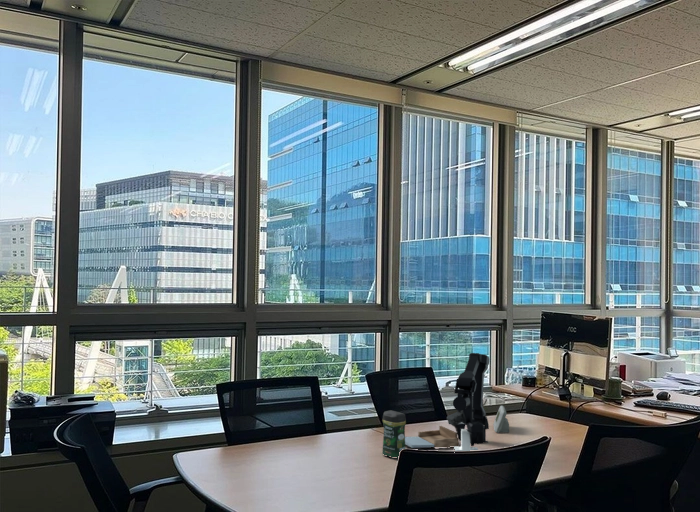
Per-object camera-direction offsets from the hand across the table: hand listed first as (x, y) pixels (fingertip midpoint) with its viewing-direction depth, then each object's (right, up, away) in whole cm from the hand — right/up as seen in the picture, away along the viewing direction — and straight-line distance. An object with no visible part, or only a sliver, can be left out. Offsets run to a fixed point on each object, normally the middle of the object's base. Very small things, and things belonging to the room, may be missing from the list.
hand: (466, 443), depth 261 cm
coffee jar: (-31, -4, -6) cm, 32 cm away
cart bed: (-10, -5, +14) cm, 18 cm away
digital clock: (+24, -6, +41) cm, 48 cm away
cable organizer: (0, -4, 0) cm, 4 cm away
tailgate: (-16, -2, +12) cm, 20 cm away
